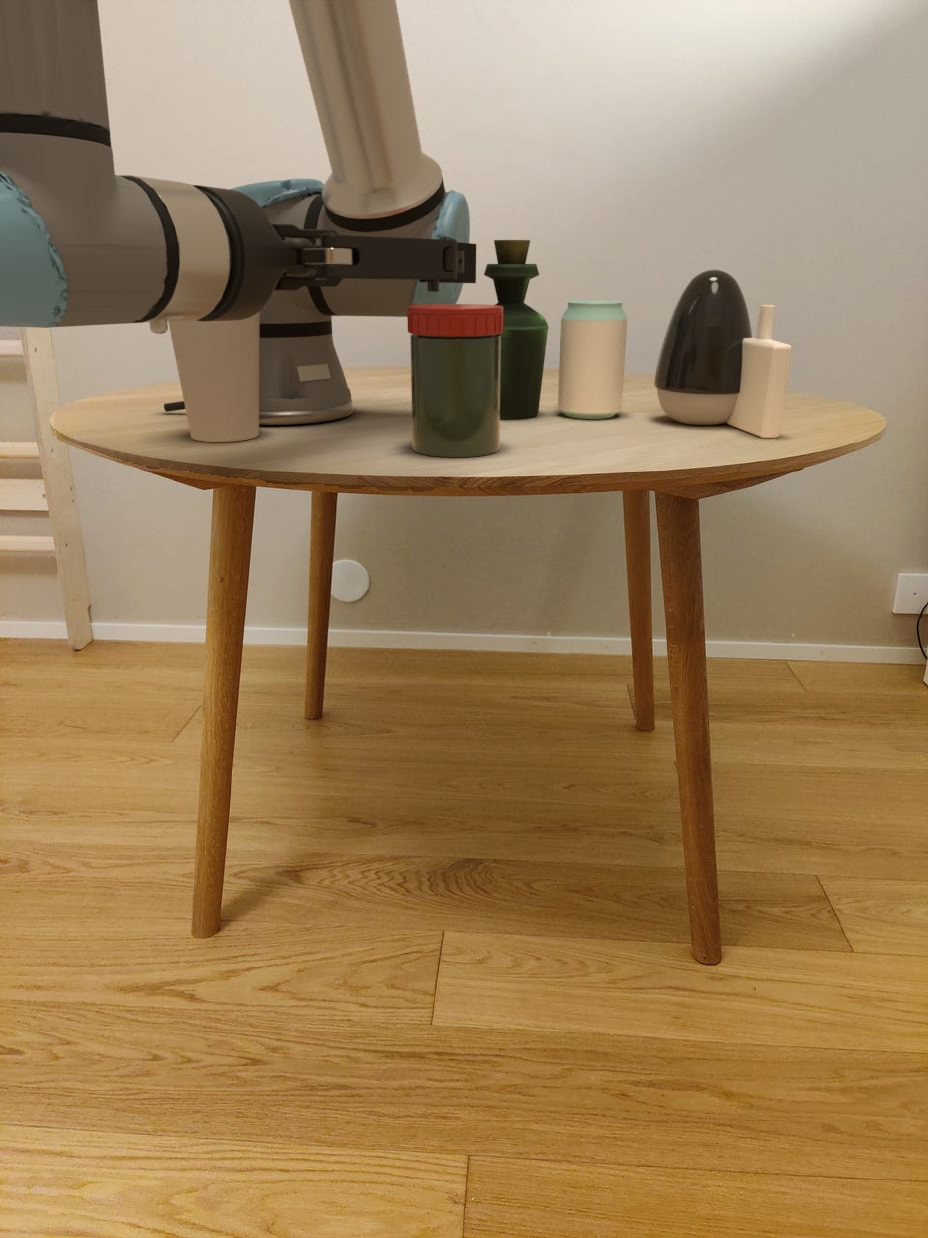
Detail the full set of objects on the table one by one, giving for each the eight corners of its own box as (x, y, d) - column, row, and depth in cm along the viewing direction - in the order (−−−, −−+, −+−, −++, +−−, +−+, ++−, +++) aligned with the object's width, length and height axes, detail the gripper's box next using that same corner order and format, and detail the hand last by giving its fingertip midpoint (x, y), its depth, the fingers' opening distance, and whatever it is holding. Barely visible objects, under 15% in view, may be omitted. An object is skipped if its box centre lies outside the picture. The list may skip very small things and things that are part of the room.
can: (590, 422, 98) (596, 303, 93) (544, 413, 103) (548, 300, 99) (634, 415, 102) (642, 301, 98) (588, 408, 107) (593, 298, 103)
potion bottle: (458, 413, 103) (457, 240, 97) (514, 406, 108) (517, 240, 101) (502, 423, 97) (505, 239, 91) (560, 415, 102) (567, 239, 95)
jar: (395, 452, 83) (392, 314, 79) (439, 437, 89) (437, 309, 85) (475, 460, 79) (475, 317, 75) (513, 445, 86) (516, 312, 82)
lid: (389, 334, 79) (388, 307, 78) (437, 327, 86) (437, 303, 85) (476, 337, 75) (476, 309, 75) (519, 331, 82) (519, 305, 82)
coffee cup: (241, 424, 96) (228, 271, 91) (294, 436, 90) (283, 272, 85) (156, 435, 90) (136, 272, 85) (206, 449, 84) (188, 273, 78)
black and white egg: (735, 413, 103) (750, 268, 98) (761, 429, 94) (780, 270, 88) (644, 413, 103) (654, 268, 98) (661, 429, 94) (673, 269, 88)
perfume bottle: (781, 437, 90) (799, 307, 85) (762, 438, 89) (779, 307, 85) (742, 423, 97) (758, 302, 92) (725, 423, 96) (739, 302, 92)
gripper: (60, 316, 61) (275, 311, 78) (364, 327, 49) (538, 318, 67) (43, 192, 59) (269, 215, 76) (359, 172, 47) (542, 205, 64)
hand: (396, 263), depth 71 cm, fingers open, 13 cm apart
